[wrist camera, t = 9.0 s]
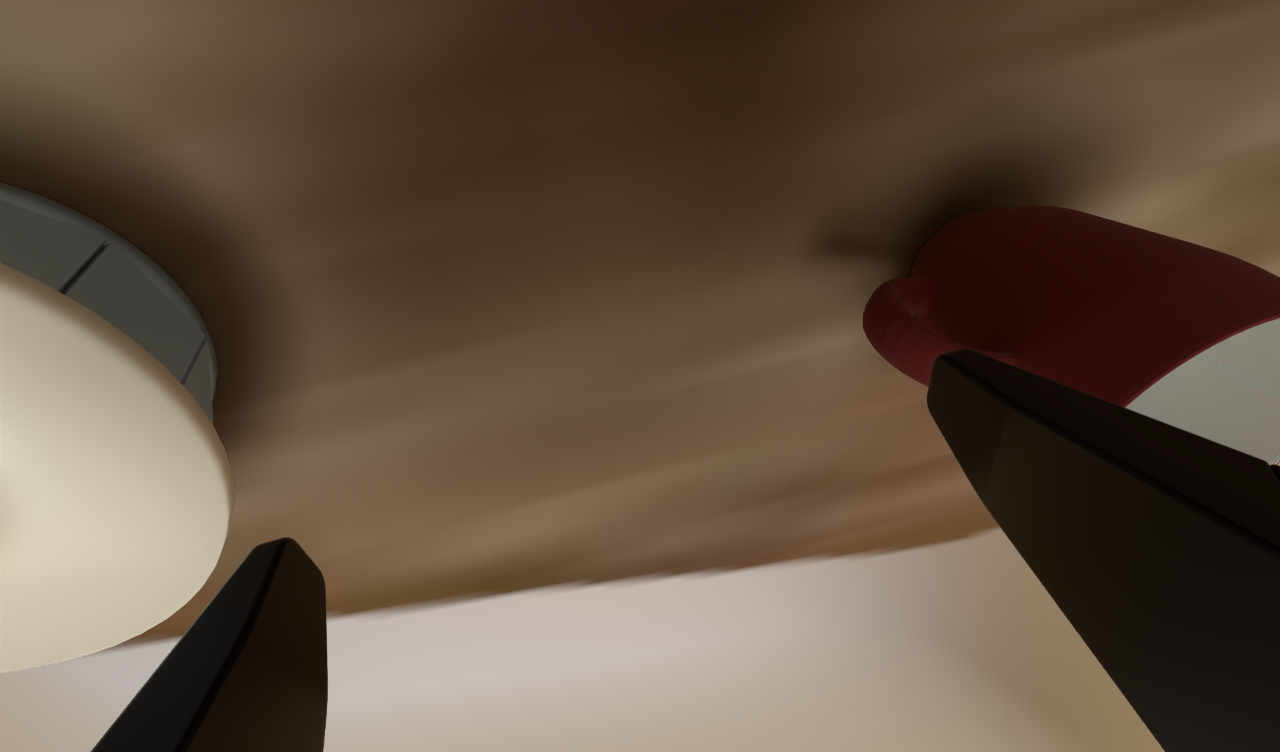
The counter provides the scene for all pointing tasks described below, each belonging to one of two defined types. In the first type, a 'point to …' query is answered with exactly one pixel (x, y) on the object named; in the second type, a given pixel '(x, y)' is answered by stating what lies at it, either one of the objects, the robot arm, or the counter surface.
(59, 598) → the lid
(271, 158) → the counter surface
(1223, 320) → the mug
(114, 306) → the bowl
